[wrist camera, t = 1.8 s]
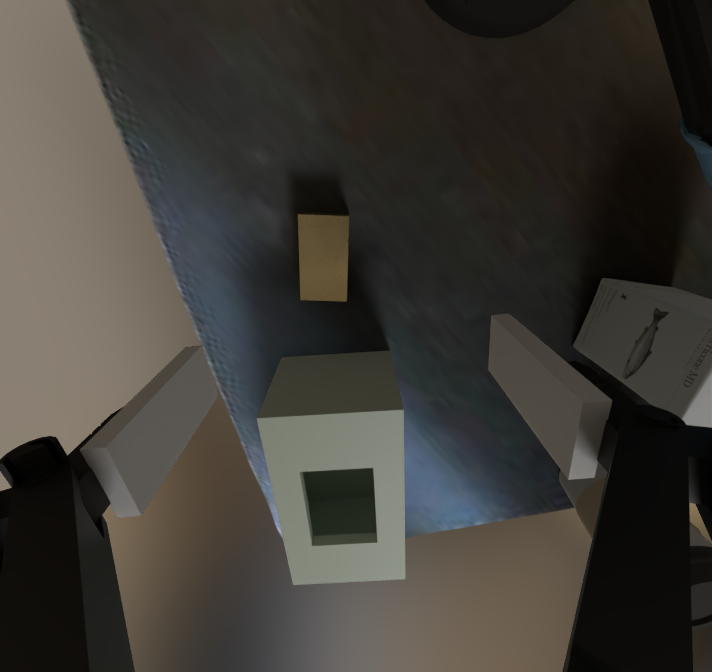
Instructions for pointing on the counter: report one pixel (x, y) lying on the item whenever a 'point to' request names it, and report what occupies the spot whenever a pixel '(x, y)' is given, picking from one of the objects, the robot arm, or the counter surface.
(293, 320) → the counter surface
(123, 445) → the robot arm
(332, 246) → the tan wooden block
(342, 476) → the grey box with slot
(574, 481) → the coffee cup
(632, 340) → the supplement box
